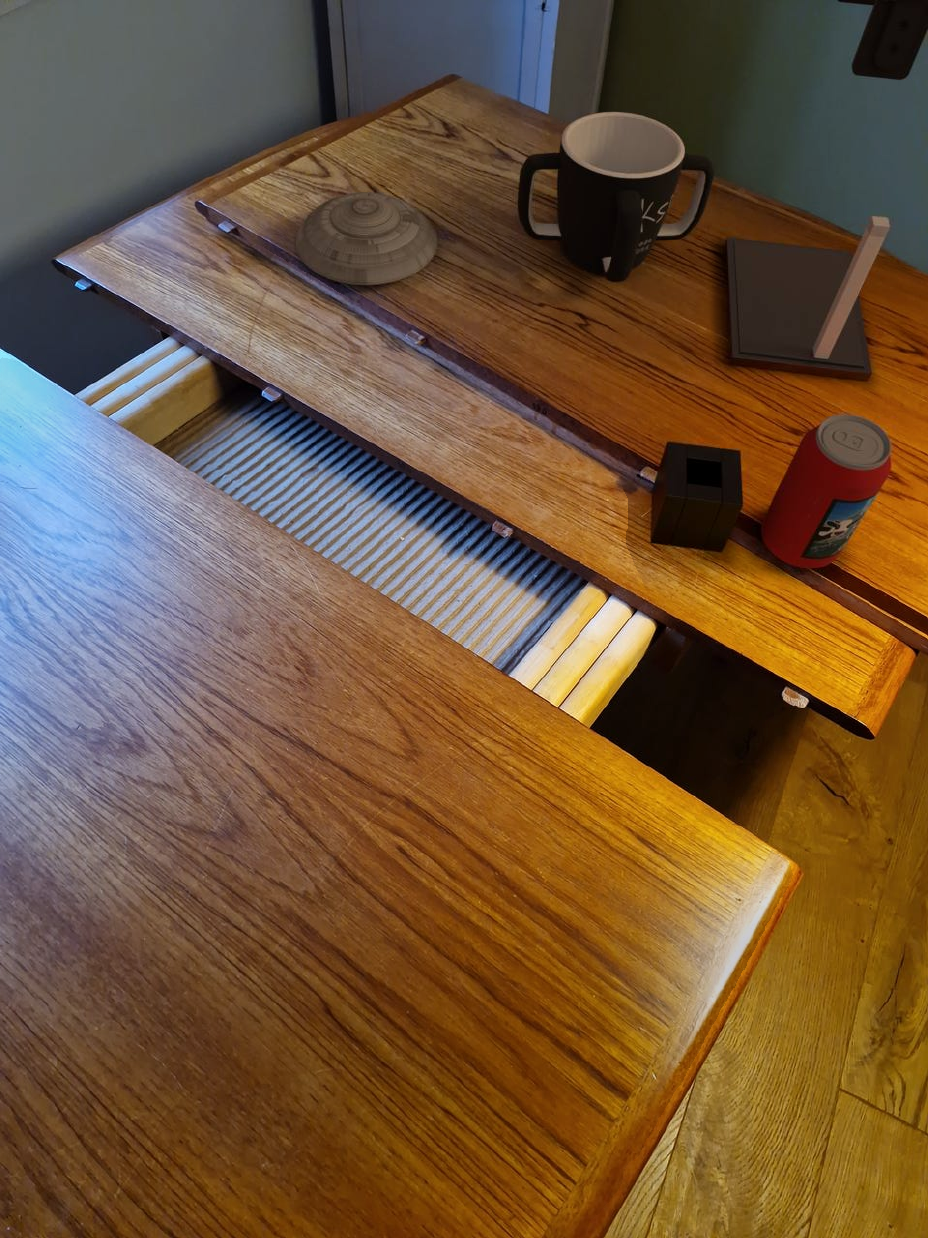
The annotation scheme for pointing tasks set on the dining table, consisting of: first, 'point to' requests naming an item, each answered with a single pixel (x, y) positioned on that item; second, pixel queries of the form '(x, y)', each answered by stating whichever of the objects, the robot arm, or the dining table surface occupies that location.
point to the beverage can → (827, 490)
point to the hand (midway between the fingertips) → (868, 36)
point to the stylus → (851, 285)
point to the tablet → (790, 309)
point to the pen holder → (696, 496)
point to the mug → (614, 191)
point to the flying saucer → (366, 239)
